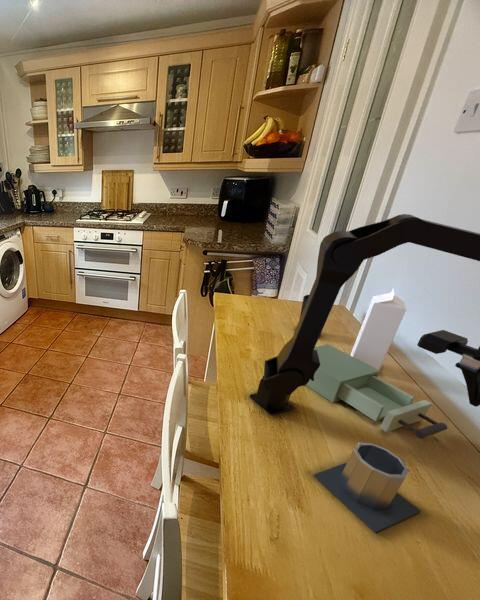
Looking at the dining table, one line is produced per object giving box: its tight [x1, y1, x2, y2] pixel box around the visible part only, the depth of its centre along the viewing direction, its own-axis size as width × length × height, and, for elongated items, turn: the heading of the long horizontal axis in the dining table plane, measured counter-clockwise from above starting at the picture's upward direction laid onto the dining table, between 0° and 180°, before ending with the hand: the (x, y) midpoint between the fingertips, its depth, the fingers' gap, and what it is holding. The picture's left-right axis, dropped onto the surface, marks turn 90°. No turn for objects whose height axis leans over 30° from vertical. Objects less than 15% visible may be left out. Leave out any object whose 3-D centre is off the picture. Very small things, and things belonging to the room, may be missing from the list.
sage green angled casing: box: [305, 343, 381, 404], centre depth 80 cm, size 13×13×6 cm
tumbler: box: [339, 442, 410, 510], centre depth 52 cm, size 6×7×8 cm
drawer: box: [337, 375, 448, 439], centre depth 68 cm, size 16×11×4 cm
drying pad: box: [313, 462, 421, 534], centre depth 53 cm, size 10×10×1 cm
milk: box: [349, 287, 407, 371], centre depth 82 cm, size 6×6×22 cm
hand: (474, 405), depth 56 cm, fingers closed
